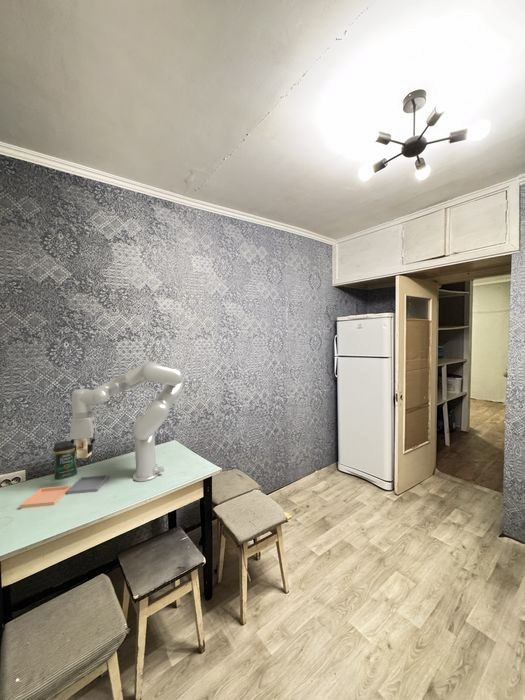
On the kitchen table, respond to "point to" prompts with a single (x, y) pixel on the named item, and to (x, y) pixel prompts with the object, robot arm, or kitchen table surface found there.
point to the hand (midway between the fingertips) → (84, 452)
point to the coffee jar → (65, 460)
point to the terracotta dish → (45, 497)
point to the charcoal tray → (88, 484)
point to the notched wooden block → (82, 448)
